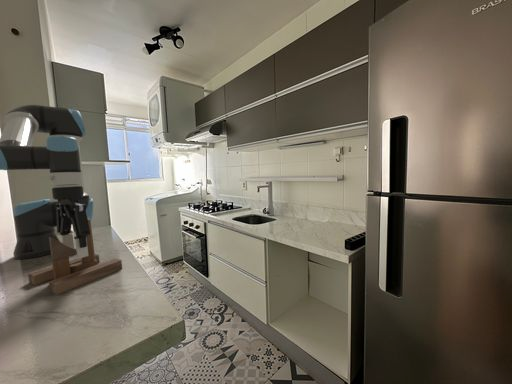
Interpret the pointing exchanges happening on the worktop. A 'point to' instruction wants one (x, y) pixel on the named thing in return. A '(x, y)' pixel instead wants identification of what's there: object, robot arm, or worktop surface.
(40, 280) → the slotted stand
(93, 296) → the worktop surface
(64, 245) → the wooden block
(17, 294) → the worktop surface
